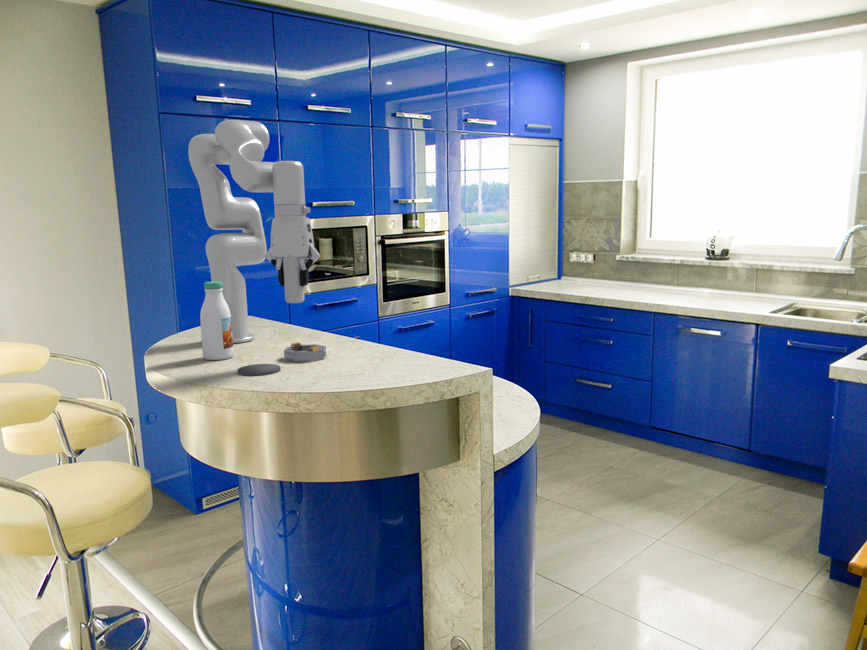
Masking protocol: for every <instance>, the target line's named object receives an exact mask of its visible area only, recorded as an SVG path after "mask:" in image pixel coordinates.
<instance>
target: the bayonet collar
mask: <svg viewBox="0 0 867 650" xmlns="http://www.w3.org/2000/svg"><path fill="white" fill-rule="evenodd" d="M283 354H284V355H283V356H284V357H283V358H284V361H288V362H292V363H306V362H309V363H310V362H316V361H321V360H324V359H325V358H326V357H327V347H326V345H321V344H302V343H301V342H293V343H292V342H291V343H290V346H288V347H287V346H286V348H285V349H284V350H283Z"/></svg>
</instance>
